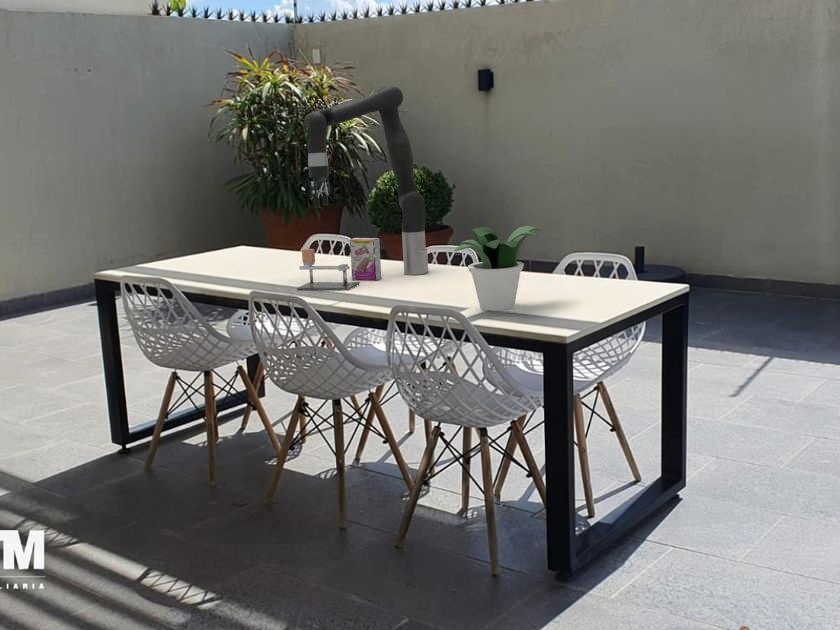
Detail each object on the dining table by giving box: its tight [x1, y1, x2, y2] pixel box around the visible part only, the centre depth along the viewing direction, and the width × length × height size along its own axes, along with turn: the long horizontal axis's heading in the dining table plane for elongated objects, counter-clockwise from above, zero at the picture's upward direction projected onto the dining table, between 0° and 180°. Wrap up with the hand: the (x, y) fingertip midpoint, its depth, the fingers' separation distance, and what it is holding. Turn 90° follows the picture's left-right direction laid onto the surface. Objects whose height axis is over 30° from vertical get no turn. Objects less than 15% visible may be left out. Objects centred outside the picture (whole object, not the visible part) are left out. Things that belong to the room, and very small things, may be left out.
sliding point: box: [301, 248, 316, 284], centre depth 377 cm, size 4×4×13 cm
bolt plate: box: [296, 263, 361, 291], centre depth 377 cm, size 21×12×9 cm, turn 73°
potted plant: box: [453, 225, 541, 312], centre depth 323 cm, size 32×35×26 cm
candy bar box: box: [349, 237, 382, 281], centre depth 390 cm, size 11×5×16 cm, turn 65°
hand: (321, 206), depth 382 cm, fingers open, 8 cm apart
